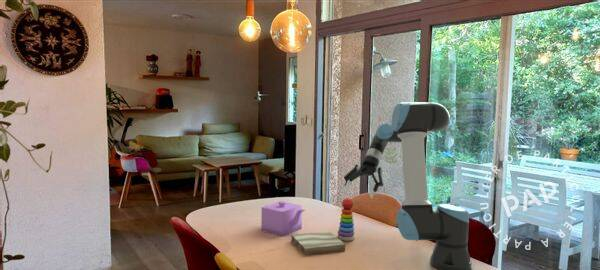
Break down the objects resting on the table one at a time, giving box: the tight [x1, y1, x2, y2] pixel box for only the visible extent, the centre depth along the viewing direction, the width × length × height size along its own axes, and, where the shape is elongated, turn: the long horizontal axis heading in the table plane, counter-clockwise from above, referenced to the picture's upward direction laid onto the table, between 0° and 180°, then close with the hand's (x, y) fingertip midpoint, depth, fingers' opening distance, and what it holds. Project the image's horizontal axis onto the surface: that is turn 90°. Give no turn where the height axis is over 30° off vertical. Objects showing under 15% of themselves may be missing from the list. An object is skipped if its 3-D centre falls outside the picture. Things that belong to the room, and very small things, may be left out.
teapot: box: [260, 200, 306, 237], centre depth 207 cm, size 15×25×14 cm, turn 54°
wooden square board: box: [291, 230, 346, 256], centre depth 186 cm, size 18×18×3 cm
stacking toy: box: [336, 197, 356, 242], centre depth 195 cm, size 8×8×19 cm
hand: (357, 194), depth 203 cm, fingers open, 13 cm apart
